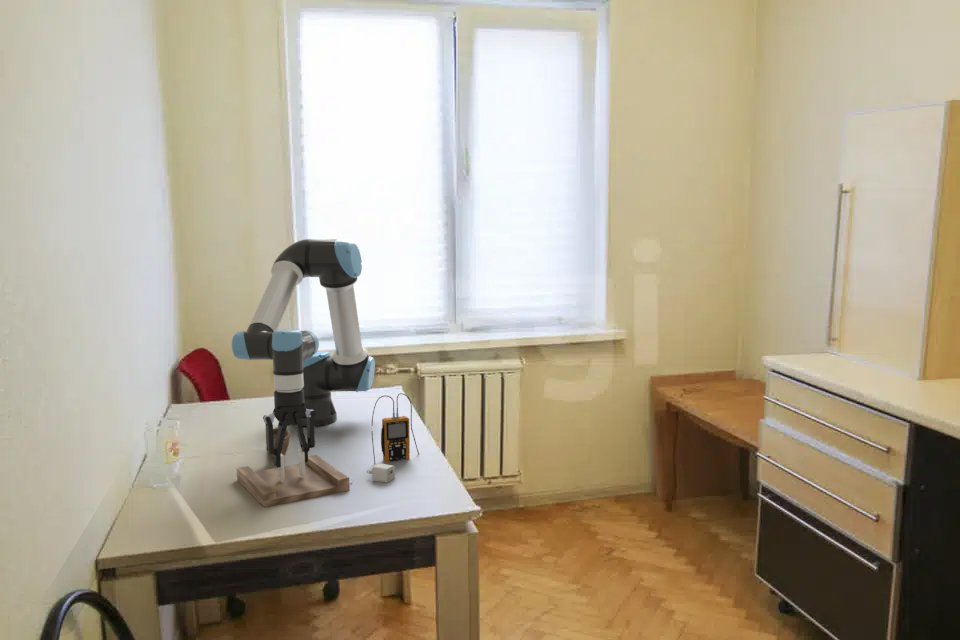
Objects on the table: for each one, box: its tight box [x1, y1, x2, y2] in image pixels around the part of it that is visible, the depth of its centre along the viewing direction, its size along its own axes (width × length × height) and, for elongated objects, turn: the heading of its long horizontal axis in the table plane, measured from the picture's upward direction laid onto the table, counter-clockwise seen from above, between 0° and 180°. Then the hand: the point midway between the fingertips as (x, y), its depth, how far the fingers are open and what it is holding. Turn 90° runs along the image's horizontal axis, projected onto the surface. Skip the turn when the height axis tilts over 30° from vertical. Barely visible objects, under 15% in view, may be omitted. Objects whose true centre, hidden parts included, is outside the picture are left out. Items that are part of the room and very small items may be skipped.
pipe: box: [271, 426, 291, 458], centre depth 223 cm, size 6×17×10 cm, turn 20°
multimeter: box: [371, 393, 420, 465], centre depth 214 cm, size 15×10×20 cm
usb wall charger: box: [366, 463, 396, 484], centre depth 204 cm, size 4×7×4 cm, turn 62°
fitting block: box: [236, 454, 351, 508], centre depth 200 cm, size 22×24×3 cm
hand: (291, 476), depth 200 cm, fingers open, 5 cm apart
